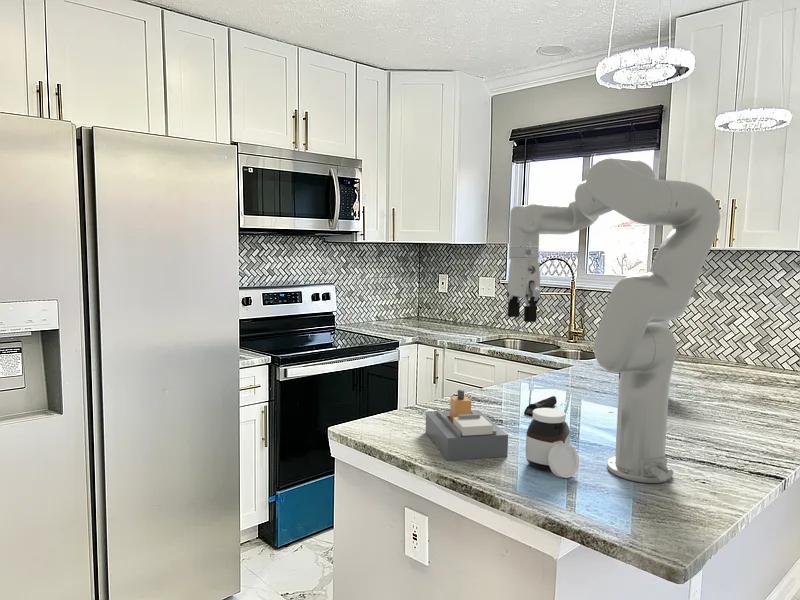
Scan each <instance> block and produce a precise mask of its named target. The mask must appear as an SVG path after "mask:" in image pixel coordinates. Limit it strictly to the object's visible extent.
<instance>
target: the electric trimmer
mask: <svg viewBox="0 0 800 600" xmlns="http://www.w3.org/2000/svg"><path fill="white" fill-rule="evenodd" d="M557 402H558V401H557V397H556V396H555V395H552V396H549V397H546V398H544V399H543V400H540V401H537V402H535V403H531V404H528V405H527V407H526V408H525V409H524V413H523V414H524V415H525V414H526V415H525V416H528V415H531V416H530V417H533V410H534V409H537V408H553V407H554V406H555V405H556V404H557Z"/></svg>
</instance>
